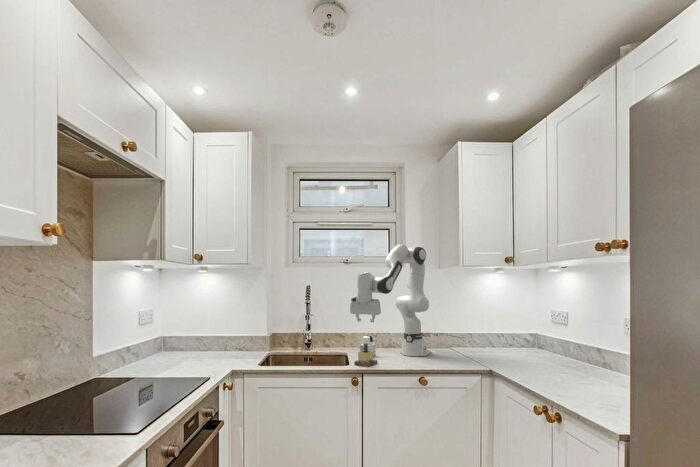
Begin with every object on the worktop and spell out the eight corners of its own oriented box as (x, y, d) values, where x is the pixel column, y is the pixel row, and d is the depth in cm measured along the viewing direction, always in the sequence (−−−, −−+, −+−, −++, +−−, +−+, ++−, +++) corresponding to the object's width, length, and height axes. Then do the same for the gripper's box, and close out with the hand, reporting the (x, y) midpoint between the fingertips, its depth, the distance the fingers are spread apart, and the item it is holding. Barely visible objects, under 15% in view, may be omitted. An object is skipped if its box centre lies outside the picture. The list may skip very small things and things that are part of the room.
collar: (363, 358, 249) (363, 350, 250) (372, 359, 246) (372, 351, 246) (358, 360, 244) (358, 351, 245) (367, 361, 241) (367, 352, 241)
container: (365, 354, 275) (365, 334, 276) (375, 355, 271) (375, 335, 272) (359, 356, 268) (359, 336, 270) (370, 357, 264) (369, 337, 266)
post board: (363, 361, 252) (362, 341, 253) (377, 363, 246) (376, 343, 247) (354, 364, 243) (354, 344, 245) (368, 366, 238) (368, 345, 239)
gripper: (382, 298, 246) (383, 322, 244) (354, 298, 257) (354, 320, 256) (377, 299, 240) (377, 323, 239) (348, 298, 252) (348, 321, 250)
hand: (365, 321), depth 247 cm, fingers open, 8 cm apart
